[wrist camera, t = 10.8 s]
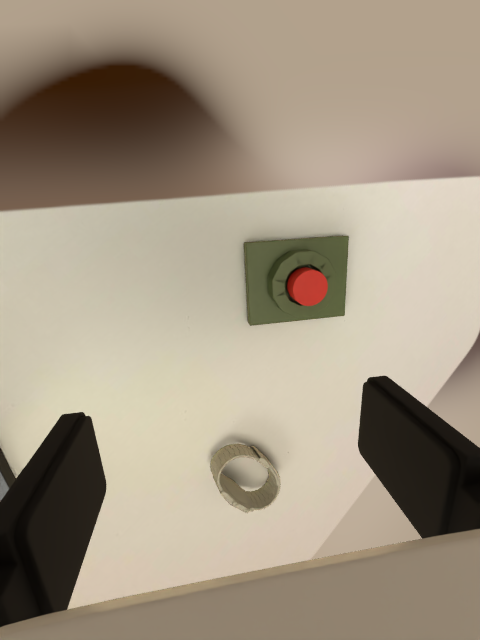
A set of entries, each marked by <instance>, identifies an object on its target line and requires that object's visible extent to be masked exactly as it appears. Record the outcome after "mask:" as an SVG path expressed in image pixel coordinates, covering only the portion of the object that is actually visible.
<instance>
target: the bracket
mask: <svg viewBox="0 0 480 640" xmlns="http://www.w3.org/2000/svg"><path fill="white" fill-rule="evenodd" d="M15 480H16V479H15V477H14V475H13V473H12V471H11V469H10V467H9V465H8V463H7V461H6V459H5V457H4V455H3V453H2V451H1V449H0V501H1V500H2V498H3V497H4V496H5V494H6V493H7V491H8V490H9V489H10V487H11V486H12V484H13V483H14V481H15Z"/></svg>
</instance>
